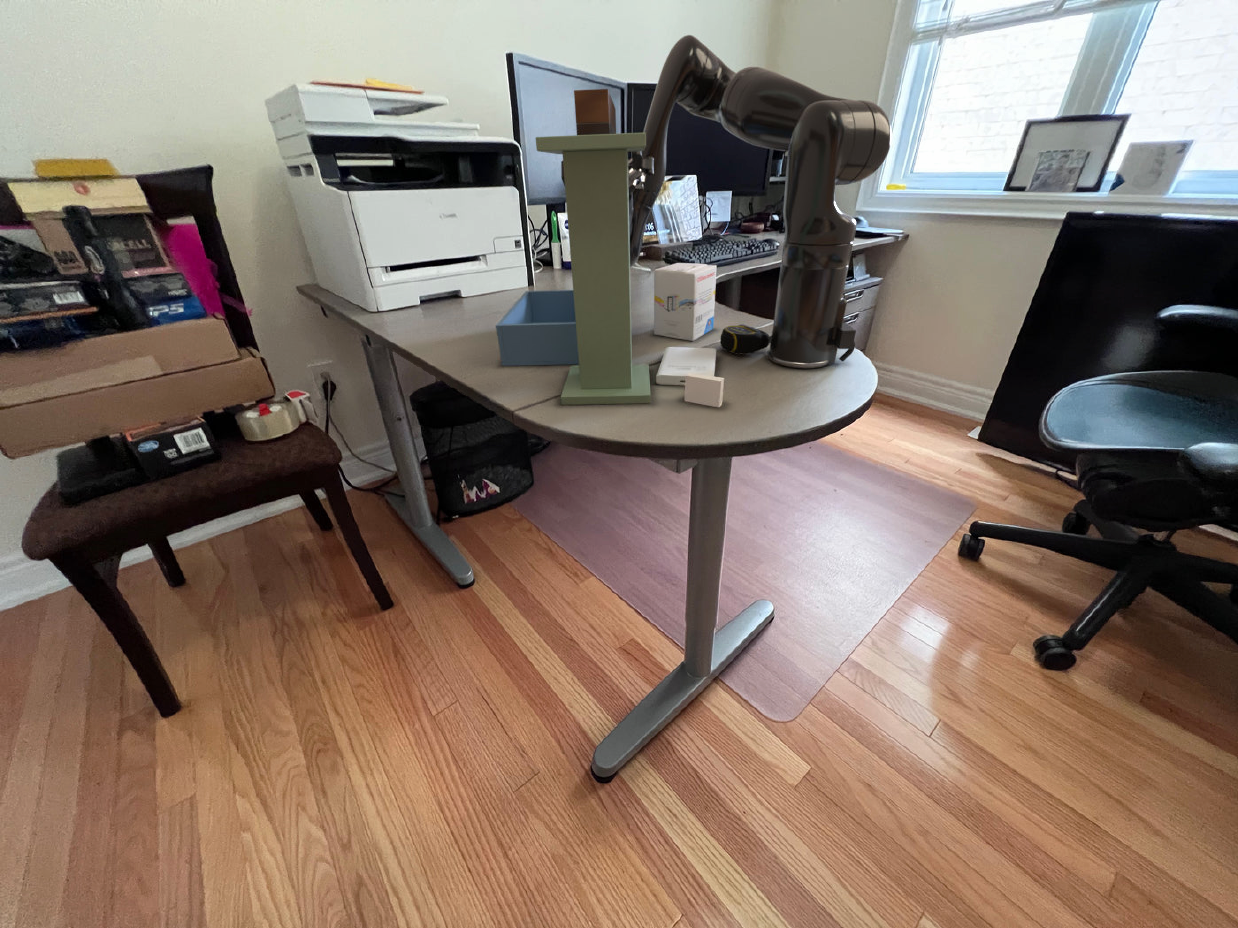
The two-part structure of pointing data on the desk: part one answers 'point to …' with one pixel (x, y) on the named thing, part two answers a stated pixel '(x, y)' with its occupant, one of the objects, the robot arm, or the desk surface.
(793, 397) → the desk surface
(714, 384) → the eraser
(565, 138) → the stand
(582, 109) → the block
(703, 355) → the hard drive
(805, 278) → the robot arm
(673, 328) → the ink box
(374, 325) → the desk surface
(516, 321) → the tray
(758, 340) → the tape measure
